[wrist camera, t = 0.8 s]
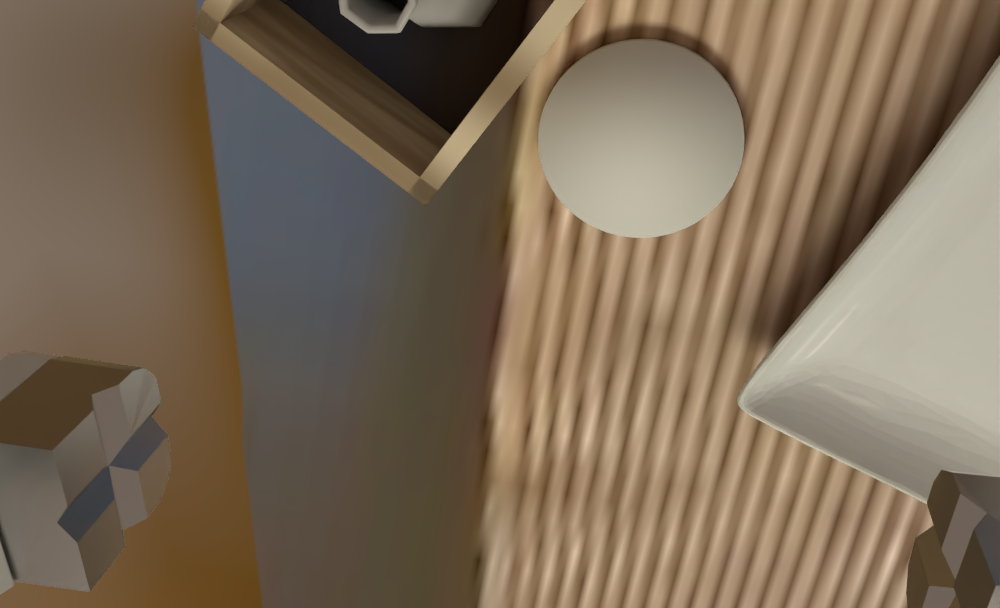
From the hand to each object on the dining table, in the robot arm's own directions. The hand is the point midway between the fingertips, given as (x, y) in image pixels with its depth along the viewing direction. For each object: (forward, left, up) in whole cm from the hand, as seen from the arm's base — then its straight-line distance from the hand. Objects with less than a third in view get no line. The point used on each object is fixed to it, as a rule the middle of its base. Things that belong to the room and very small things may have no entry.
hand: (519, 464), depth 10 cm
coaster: (+8, +5, -37) cm, 38 cm away
